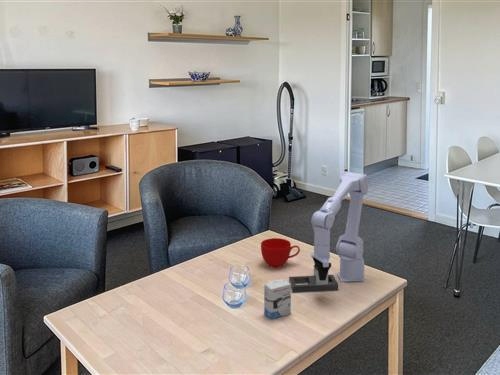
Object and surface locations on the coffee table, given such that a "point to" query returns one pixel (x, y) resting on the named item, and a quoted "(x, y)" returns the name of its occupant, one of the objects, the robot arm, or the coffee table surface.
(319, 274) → the robot arm
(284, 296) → the ink box
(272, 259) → the ceramic cup
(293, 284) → the dark grey double frame
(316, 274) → the block
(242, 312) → the coffee table surface
